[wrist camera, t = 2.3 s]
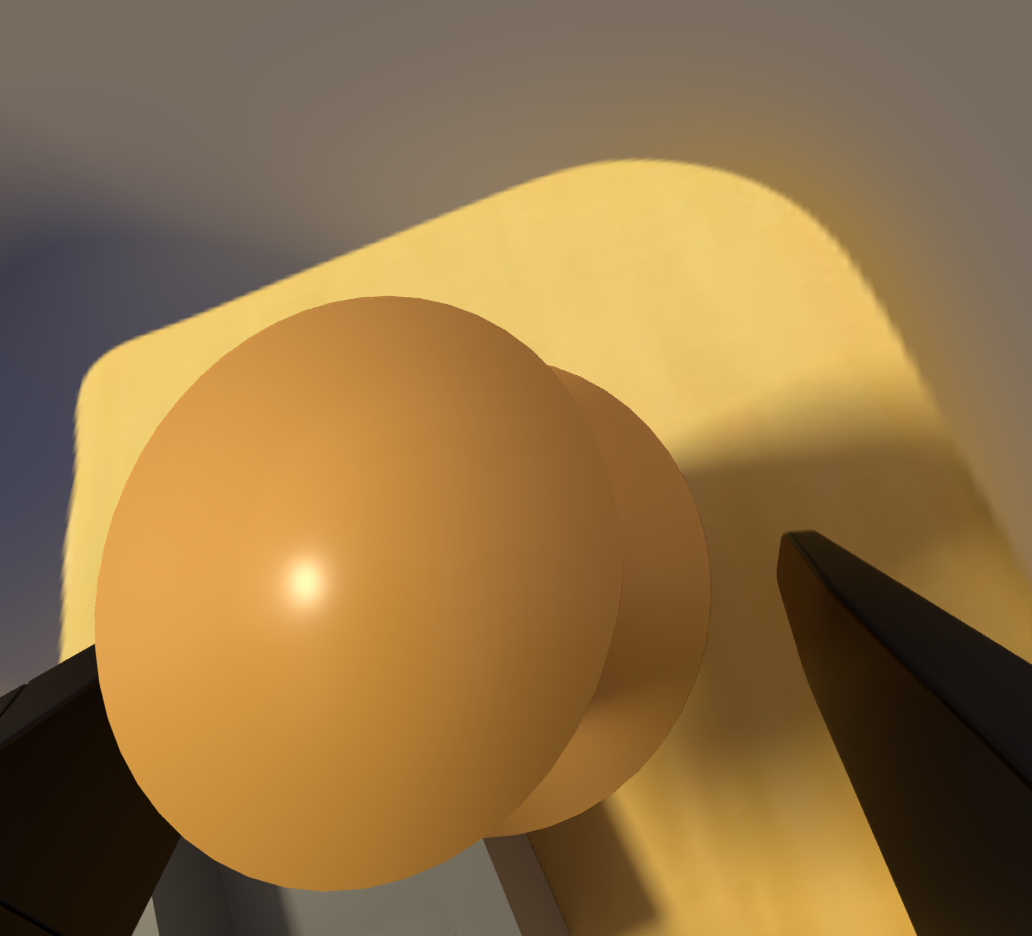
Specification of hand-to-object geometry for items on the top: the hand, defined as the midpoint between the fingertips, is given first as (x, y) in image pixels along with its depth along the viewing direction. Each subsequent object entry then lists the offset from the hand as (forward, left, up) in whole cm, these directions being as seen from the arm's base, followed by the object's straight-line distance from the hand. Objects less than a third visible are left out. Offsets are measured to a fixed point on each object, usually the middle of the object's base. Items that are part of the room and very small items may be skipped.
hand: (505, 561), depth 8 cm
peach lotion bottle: (0, 0, -8) cm, 8 cm away
